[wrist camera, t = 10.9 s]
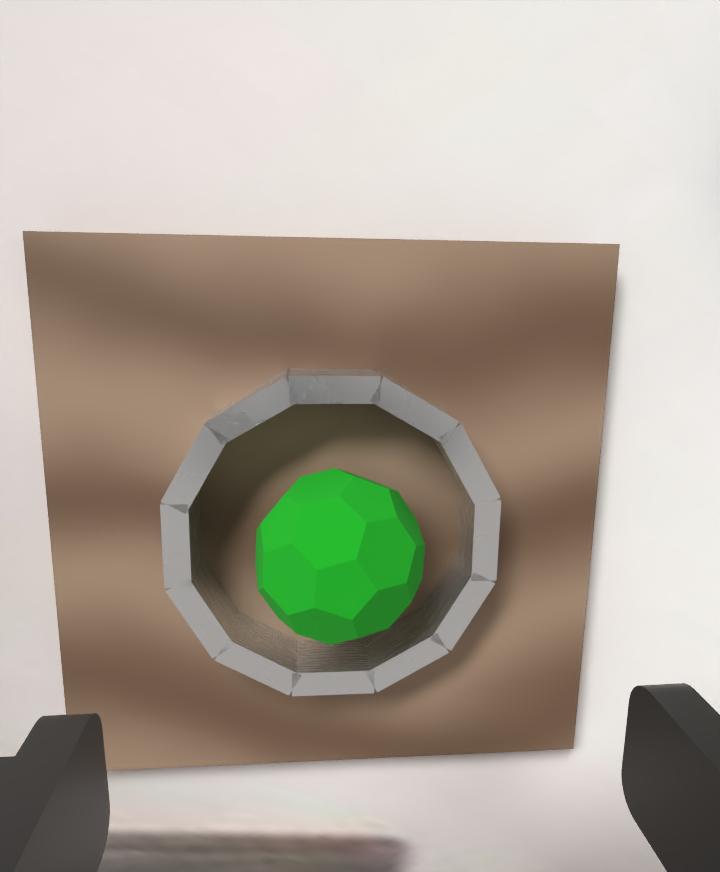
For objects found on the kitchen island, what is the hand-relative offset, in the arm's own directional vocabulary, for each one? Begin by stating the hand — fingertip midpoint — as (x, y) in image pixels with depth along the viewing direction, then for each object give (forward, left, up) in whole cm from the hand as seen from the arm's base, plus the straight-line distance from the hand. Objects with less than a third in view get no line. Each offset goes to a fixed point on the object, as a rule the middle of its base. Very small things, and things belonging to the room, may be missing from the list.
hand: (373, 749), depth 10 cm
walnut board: (+1, 0, -13) cm, 13 cm away
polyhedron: (+1, 0, -12) cm, 12 cm away
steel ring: (+1, 0, -12) cm, 12 cm away
